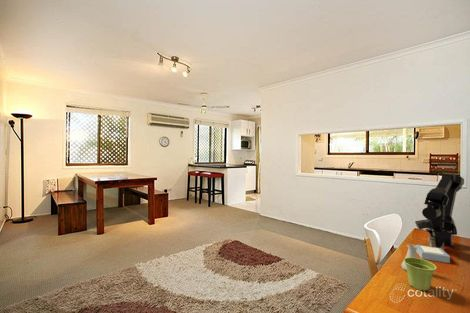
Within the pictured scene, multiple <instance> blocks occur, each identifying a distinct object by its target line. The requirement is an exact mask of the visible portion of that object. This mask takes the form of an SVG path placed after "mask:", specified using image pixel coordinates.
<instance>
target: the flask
mask: <svg viewBox="0 0 470 313" xmlns="http://www.w3.org/2000/svg"><path fill="white" fill-rule="evenodd" d="M416 249H417V247H416V245H414V244H407V253H406V255H405V257H404V259H405V258H408V257H412V258H418V255H417V254H418V253H417V252H416ZM400 266H401V268H402V270H405V271H406V272H407V268H406V265H405V262H404V260H403V261H402V263H401V265H400Z"/></svg>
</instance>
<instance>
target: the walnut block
mask: <svg viewBox="0 0 470 313" xmlns="http://www.w3.org/2000/svg"><path fill="white" fill-rule="evenodd" d="M427 246H429V247H436V244H435V238H433V237H430V236H427ZM440 248H441V249H442V250H444V251H445V245H444V243H443V244H442V246H441V247H440Z"/></svg>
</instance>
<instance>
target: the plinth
mask: <svg viewBox="0 0 470 313" xmlns="http://www.w3.org/2000/svg"><path fill="white" fill-rule="evenodd" d="M415 246H416V247H417V249H416V253H417V254H418V255H419V258H420V259H423V260H426V261H432V262H439V263H444V264H450V263H451V256H450V255H449V254H448V253H447V252H446V251H445V249H444V250H442V249H441V248H436V247H429V246H428V245H421V244H415Z"/></svg>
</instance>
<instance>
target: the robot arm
mask: <svg viewBox="0 0 470 313" xmlns="http://www.w3.org/2000/svg"><path fill="white" fill-rule="evenodd" d="M464 184H465V178H463V177H462V176H461V175H456V174H453V173H442V175H441V178H440V180H439V182H438V184H437V185H436V186H435V187H434V188H431V189H430V190H429V191H428V192H427V195H425V196H426V197H425V200H424V203H423V205H426V207H424V208H423V209H422V211H421V214H422V216H423V217H424V218H425V219H420V220H415V221H414V223H415V224H416V225H415V226H416V227H417V228H418V230H424V229H425V231H427V233H429V237H433V238H435V244H436V248H440V247H441V246H442V244H443V243H444V246H449V247H455V244H454V243H453V242H452V240H453V236H458V229H457V226H456V223H455V220H454V219H453V217H452V215H453V211H454V207H455V201H456V196H457V192H459V191H460V190H461V189H462V187H463V185H464Z"/></svg>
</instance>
